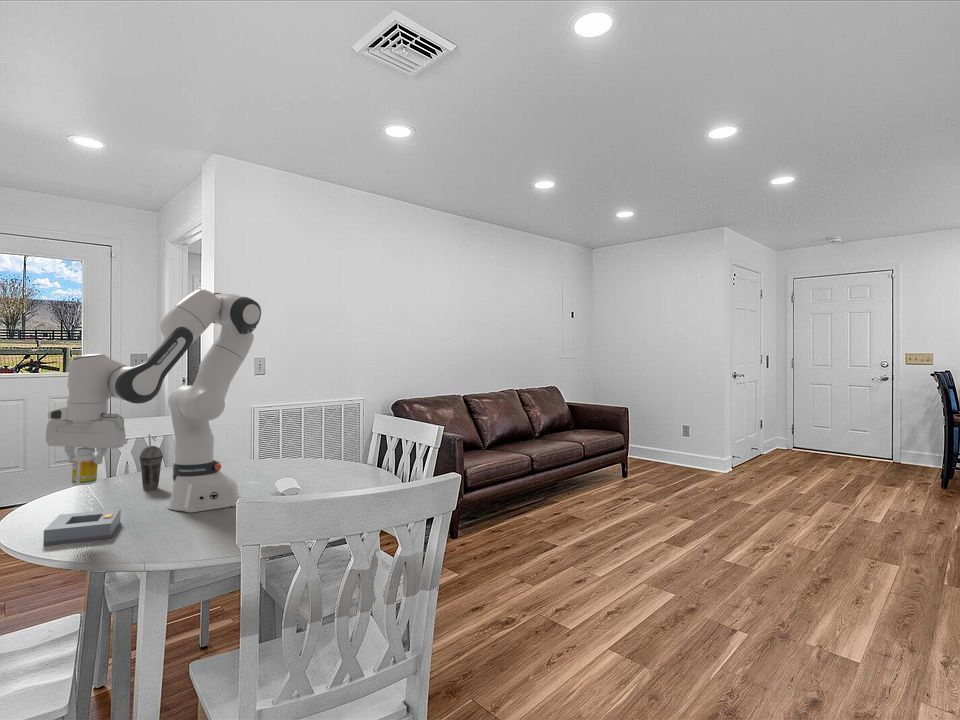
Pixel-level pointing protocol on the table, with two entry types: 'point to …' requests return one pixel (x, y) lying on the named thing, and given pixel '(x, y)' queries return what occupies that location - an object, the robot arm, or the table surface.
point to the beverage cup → (150, 466)
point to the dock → (82, 527)
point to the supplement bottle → (84, 467)
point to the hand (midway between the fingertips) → (85, 463)
